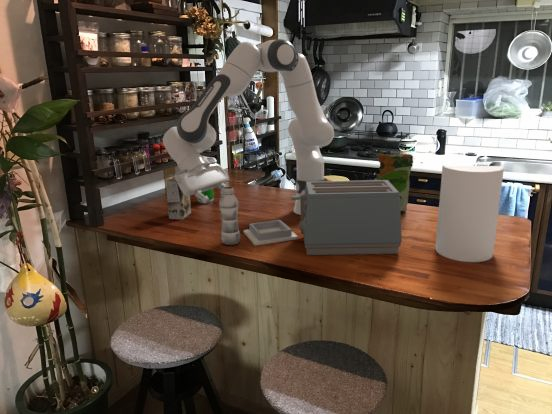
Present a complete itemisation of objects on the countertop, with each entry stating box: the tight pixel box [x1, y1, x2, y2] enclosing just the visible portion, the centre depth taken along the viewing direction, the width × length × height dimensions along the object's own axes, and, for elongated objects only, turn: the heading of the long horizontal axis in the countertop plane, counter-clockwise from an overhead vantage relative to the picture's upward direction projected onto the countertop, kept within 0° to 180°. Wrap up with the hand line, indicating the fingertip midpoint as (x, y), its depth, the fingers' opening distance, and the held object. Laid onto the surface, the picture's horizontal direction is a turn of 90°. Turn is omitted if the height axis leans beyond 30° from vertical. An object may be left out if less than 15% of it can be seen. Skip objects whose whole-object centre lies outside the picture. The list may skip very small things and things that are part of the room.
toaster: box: [291, 179, 403, 256], centre depth 152 cm, size 19×35×20 cm, turn 89°
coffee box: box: [165, 176, 192, 221], centre depth 187 cm, size 9×6×16 cm
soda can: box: [196, 188, 215, 204], centre depth 208 cm, size 8×8×12 cm
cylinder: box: [435, 165, 505, 263], centre depth 143 cm, size 17×17×28 cm
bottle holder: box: [243, 219, 299, 246], centre depth 164 cm, size 16×14×4 cm
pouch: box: [376, 152, 414, 213], centre depth 184 cm, size 11×12×25 cm
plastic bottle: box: [218, 186, 241, 246], centre depth 155 cm, size 6×7×20 cm
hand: (216, 198), depth 157 cm, fingers open, 8 cm apart
